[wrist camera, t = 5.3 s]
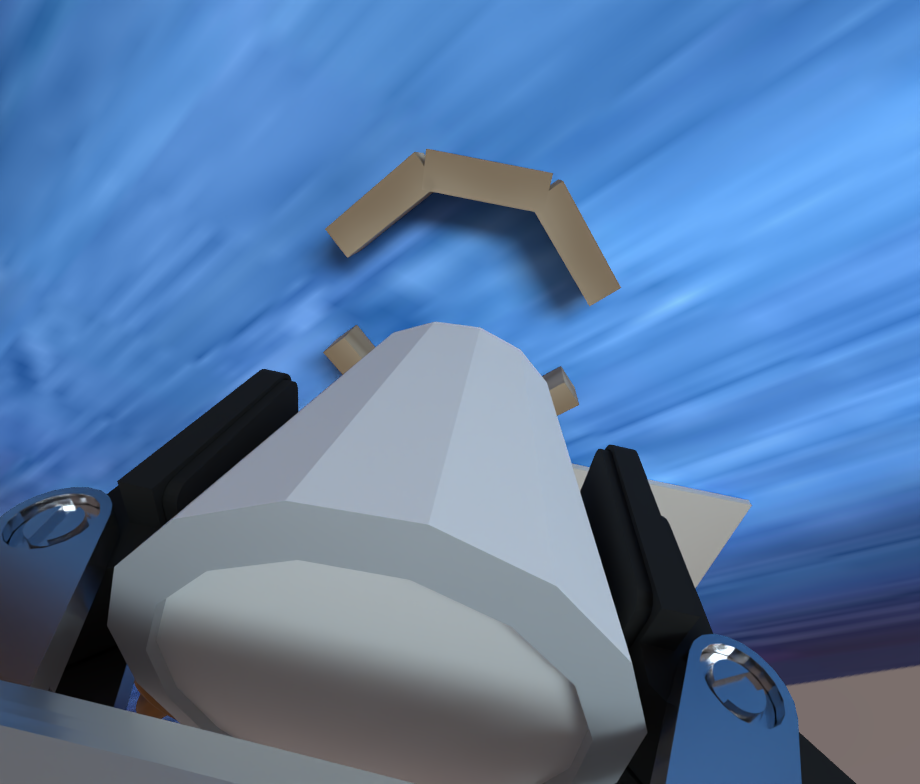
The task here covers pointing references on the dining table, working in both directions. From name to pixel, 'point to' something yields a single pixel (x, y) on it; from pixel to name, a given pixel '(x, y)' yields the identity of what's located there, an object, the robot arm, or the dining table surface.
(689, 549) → the rubber mat
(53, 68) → the dining table surface
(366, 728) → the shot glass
